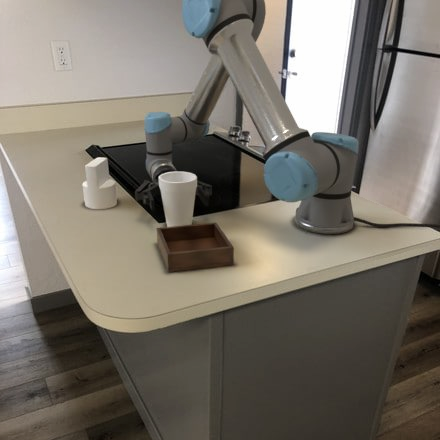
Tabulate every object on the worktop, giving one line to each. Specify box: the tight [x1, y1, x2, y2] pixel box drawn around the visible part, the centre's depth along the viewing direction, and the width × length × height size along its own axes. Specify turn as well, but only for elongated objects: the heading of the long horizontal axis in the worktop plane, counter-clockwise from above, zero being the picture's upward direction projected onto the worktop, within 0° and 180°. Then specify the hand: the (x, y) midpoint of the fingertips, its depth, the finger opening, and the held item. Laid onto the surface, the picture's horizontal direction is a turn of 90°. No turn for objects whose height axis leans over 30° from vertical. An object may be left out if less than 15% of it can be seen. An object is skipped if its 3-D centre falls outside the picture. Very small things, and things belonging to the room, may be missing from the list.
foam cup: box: [159, 171, 198, 227], centre depth 123 cm, size 10×9×13 cm
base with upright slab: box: [82, 156, 118, 210], centre depth 137 cm, size 9×9×12 cm
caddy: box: [156, 222, 235, 273], centre depth 111 cm, size 15×15×4 cm
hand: (180, 203), depth 121 cm, fingers open, 13 cm apart
